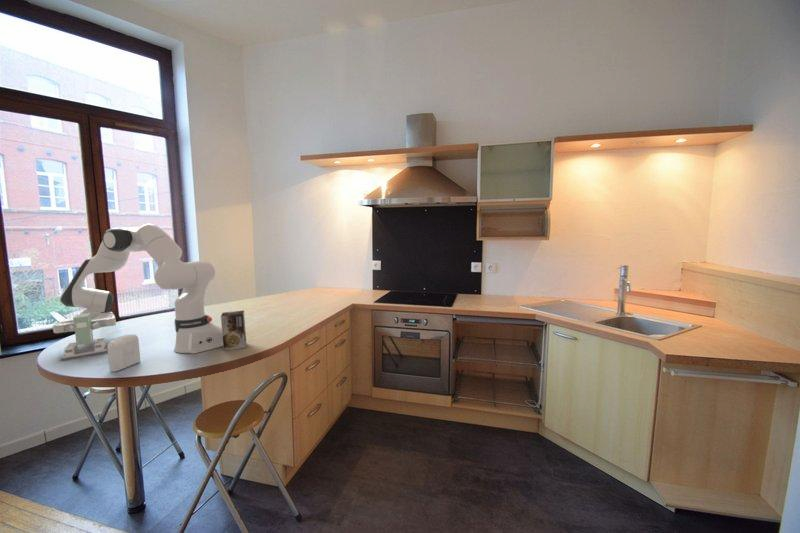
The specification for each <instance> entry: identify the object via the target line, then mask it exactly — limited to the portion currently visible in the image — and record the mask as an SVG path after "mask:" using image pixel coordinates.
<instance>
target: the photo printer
mask: <svg viewBox="0 0 800 533" xmlns="http://www.w3.org/2000/svg"><path fill="white" fill-rule="evenodd" d="M107 344H108V345H107ZM107 344H106V345H107V349H108V351H107V358H108V366H109V371H110V372H113V373H114V372H118V371H120V370H124V369H126V368H129V367H131V366H133V365H135V364H138V363H140V362H141V352H140V343H139V337H138V335H137V334H123V335H121V336H118V337H116V338H114V339H112V340H110V341H109V342H108V343H107Z"/></svg>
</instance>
